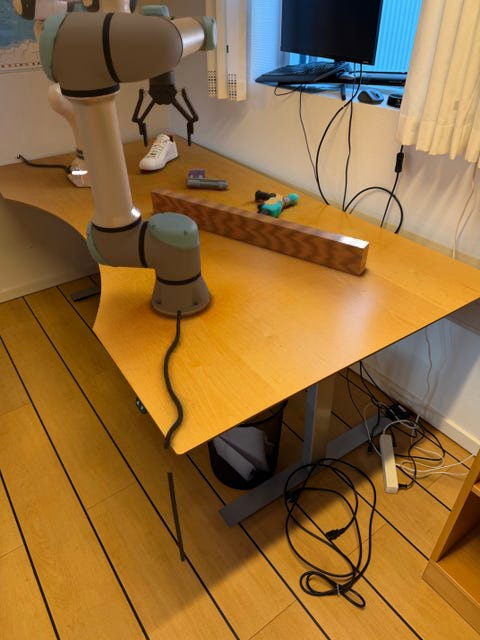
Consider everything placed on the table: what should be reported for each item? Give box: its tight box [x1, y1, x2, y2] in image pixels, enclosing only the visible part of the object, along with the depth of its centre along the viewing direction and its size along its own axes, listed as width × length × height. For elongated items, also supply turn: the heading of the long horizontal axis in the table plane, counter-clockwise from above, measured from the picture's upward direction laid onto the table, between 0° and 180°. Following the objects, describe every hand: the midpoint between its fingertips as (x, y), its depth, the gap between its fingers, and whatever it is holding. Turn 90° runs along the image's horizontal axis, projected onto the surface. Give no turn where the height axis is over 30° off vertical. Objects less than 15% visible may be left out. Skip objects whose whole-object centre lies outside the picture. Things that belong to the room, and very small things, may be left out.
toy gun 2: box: [254, 189, 299, 218], centre depth 172 cm, size 4×26×15 cm
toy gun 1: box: [185, 168, 229, 190], centre depth 195 cm, size 4×19×15 cm
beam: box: [150, 187, 370, 277], centre depth 153 cm, size 79×4×9 cm, turn 56°
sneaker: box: [139, 133, 179, 171], centre depth 214 cm, size 10×29×12 cm, turn 163°
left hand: (126, 77), depth 155 cm, fingers open, 8 cm apart
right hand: (168, 145), depth 149 cm, fingers open, 13 cm apart
